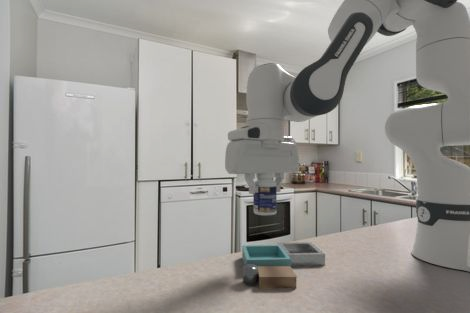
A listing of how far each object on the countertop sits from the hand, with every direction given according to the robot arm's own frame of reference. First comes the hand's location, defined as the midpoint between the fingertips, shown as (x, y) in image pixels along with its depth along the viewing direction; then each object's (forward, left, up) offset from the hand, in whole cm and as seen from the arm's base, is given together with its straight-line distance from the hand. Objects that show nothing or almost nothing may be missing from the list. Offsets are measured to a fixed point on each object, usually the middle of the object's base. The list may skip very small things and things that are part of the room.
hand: (265, 192), depth 60 cm
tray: (0, 0, -17) cm, 17 cm away
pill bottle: (0, 0, -5) cm, 5 cm away
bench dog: (+5, +8, -17) cm, 19 cm away
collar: (-9, -4, -17) cm, 19 cm away
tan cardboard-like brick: (0, +9, -17) cm, 19 cm away
